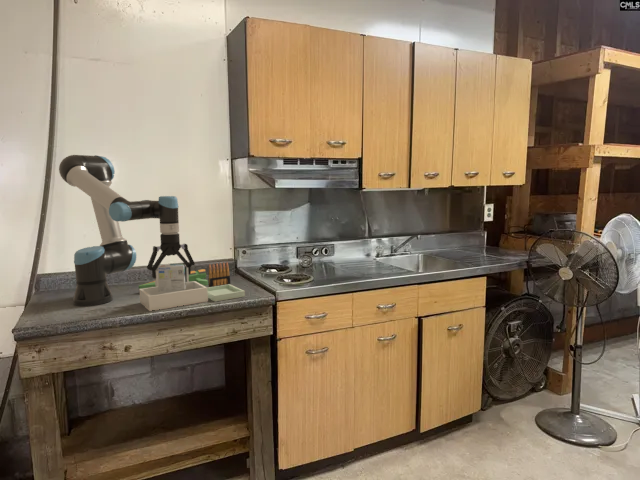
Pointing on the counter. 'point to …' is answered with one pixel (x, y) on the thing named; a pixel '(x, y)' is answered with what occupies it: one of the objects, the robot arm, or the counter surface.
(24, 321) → the counter surface
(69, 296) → the counter surface
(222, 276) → the ammunition clip
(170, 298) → the deep bin
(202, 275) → the toy spaceship
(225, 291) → the tray
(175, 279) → the light bulb box
